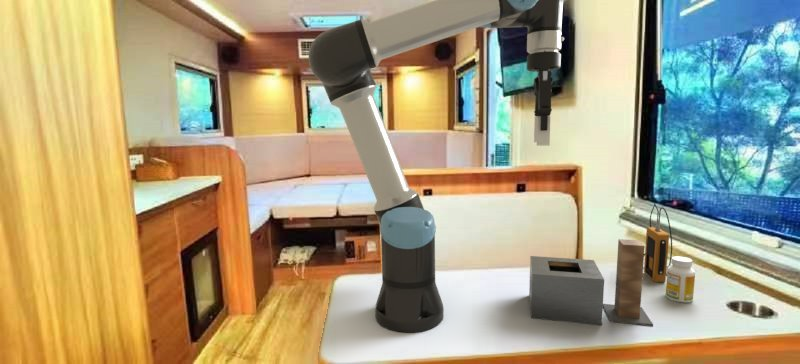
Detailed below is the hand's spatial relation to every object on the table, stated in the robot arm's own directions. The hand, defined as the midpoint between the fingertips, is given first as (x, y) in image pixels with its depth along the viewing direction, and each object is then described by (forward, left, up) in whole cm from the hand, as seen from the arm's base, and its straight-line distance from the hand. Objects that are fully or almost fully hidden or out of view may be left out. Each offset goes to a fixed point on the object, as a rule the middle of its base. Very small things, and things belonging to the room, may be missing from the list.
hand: (541, 143), depth 99 cm
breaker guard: (+5, -11, -37) cm, 39 cm away
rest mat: (+18, -11, -37) cm, 42 cm away
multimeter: (+34, +14, -37) cm, 52 cm away
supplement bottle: (+32, +1, -37) cm, 49 cm away
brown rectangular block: (+18, -11, -36) cm, 42 cm away
